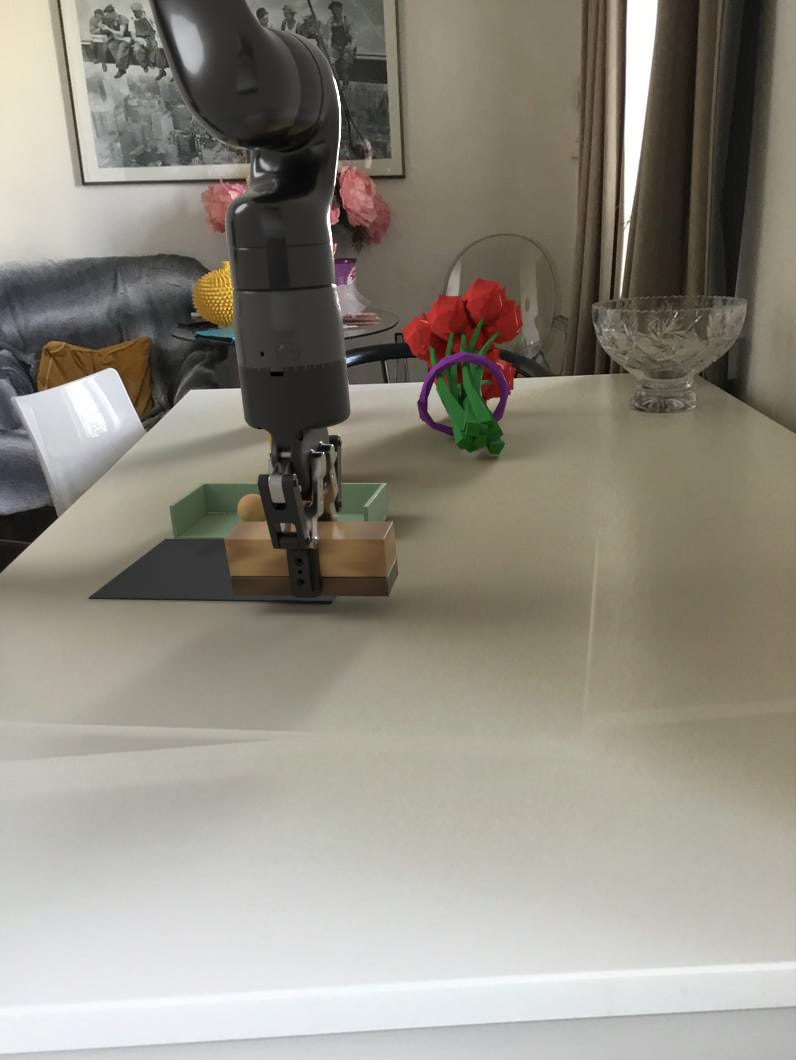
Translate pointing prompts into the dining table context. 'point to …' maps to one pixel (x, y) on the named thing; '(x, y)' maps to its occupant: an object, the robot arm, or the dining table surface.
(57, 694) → the dining table surface
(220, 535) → the dustpan
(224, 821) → the dining table surface
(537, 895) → the dining table surface
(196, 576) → the mat
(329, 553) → the brush
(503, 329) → the bouquet
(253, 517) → the ball
